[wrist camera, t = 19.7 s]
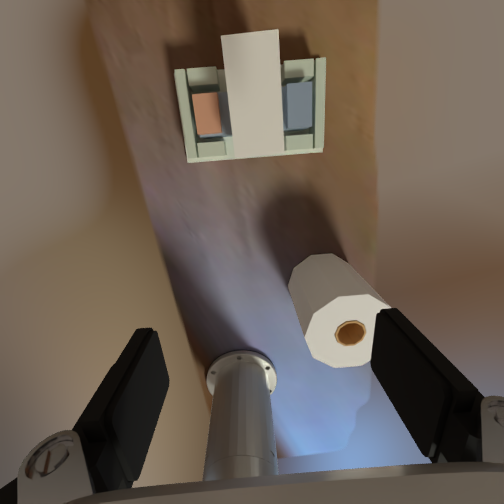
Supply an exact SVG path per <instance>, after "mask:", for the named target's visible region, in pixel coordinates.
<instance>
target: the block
mask: <svg viewBox="0 0 504 504" xmlns="http://www.w3.org/2000/svg"><path fill="white" fill-rule="evenodd" d="M221 42H222V51H223V59H224V68H225V76H226V85H227V94H228V102H229V111H230V119H231V128H232V136H233V145H234V154H235V159H236V158H246V157H255V156H264V155H274V154H283V153H285V151H284V131H283V111H282V91H281V71H280V50H279V30H278V29H276V30H267V31H258V32H249V33H240V34H231V35H222V36H221Z"/></svg>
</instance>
